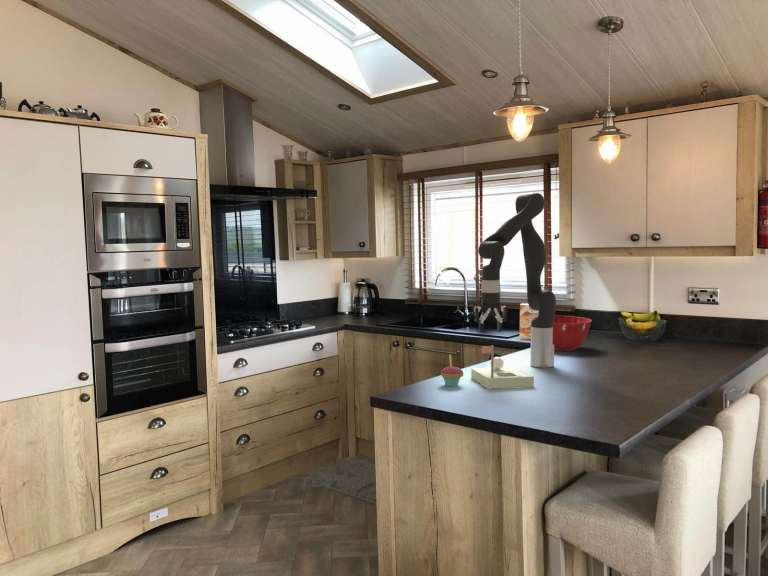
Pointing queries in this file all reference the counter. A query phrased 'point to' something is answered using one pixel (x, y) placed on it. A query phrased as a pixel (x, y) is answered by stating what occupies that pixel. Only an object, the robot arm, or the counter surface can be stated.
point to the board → (501, 375)
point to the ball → (497, 363)
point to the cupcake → (451, 374)
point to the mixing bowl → (569, 332)
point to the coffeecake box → (526, 320)
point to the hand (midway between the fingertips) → (490, 332)
